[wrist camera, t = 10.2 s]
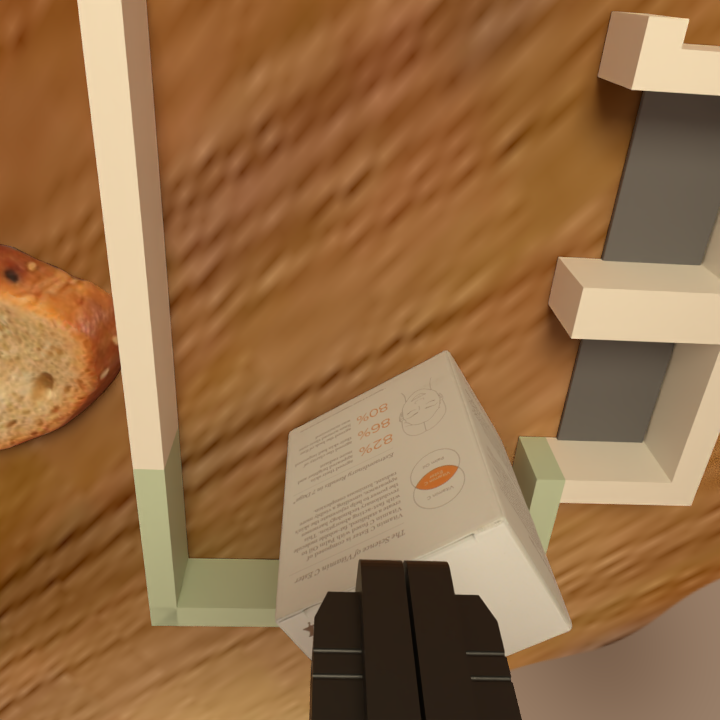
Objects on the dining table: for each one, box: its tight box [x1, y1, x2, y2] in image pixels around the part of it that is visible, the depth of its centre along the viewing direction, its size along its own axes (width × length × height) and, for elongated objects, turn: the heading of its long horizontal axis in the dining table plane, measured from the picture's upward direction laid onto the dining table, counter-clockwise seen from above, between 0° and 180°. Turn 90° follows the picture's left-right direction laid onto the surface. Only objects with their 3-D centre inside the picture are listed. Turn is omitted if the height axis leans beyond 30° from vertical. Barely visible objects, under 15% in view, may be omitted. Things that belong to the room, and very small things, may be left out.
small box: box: [275, 351, 572, 661], centre depth 26 cm, size 8×6×10 cm
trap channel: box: [77, 0, 720, 627], centre depth 27 cm, size 26×23×3 cm
